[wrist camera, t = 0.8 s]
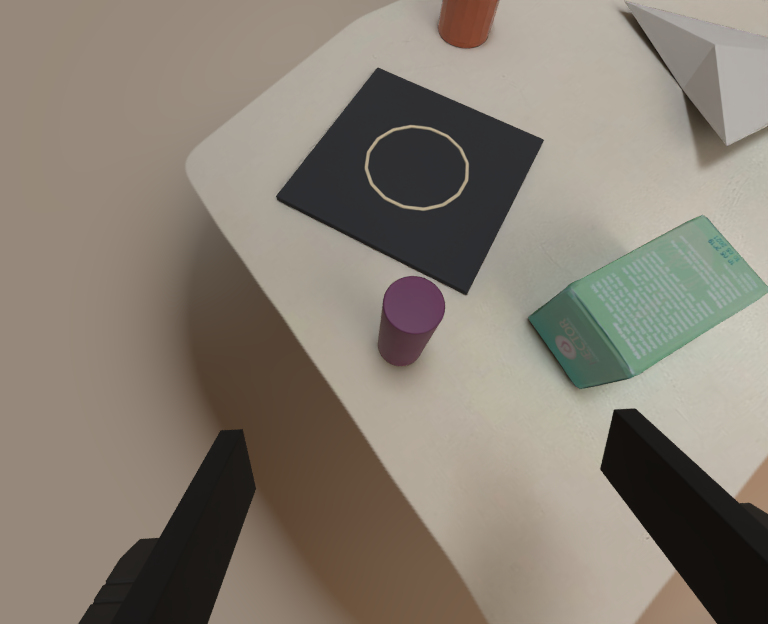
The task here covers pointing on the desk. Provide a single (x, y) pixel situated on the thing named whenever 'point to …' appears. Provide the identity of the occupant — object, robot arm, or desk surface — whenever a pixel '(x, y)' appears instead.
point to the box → (646, 304)
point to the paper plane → (713, 68)
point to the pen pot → (466, 21)
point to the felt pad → (415, 177)
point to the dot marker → (409, 319)
